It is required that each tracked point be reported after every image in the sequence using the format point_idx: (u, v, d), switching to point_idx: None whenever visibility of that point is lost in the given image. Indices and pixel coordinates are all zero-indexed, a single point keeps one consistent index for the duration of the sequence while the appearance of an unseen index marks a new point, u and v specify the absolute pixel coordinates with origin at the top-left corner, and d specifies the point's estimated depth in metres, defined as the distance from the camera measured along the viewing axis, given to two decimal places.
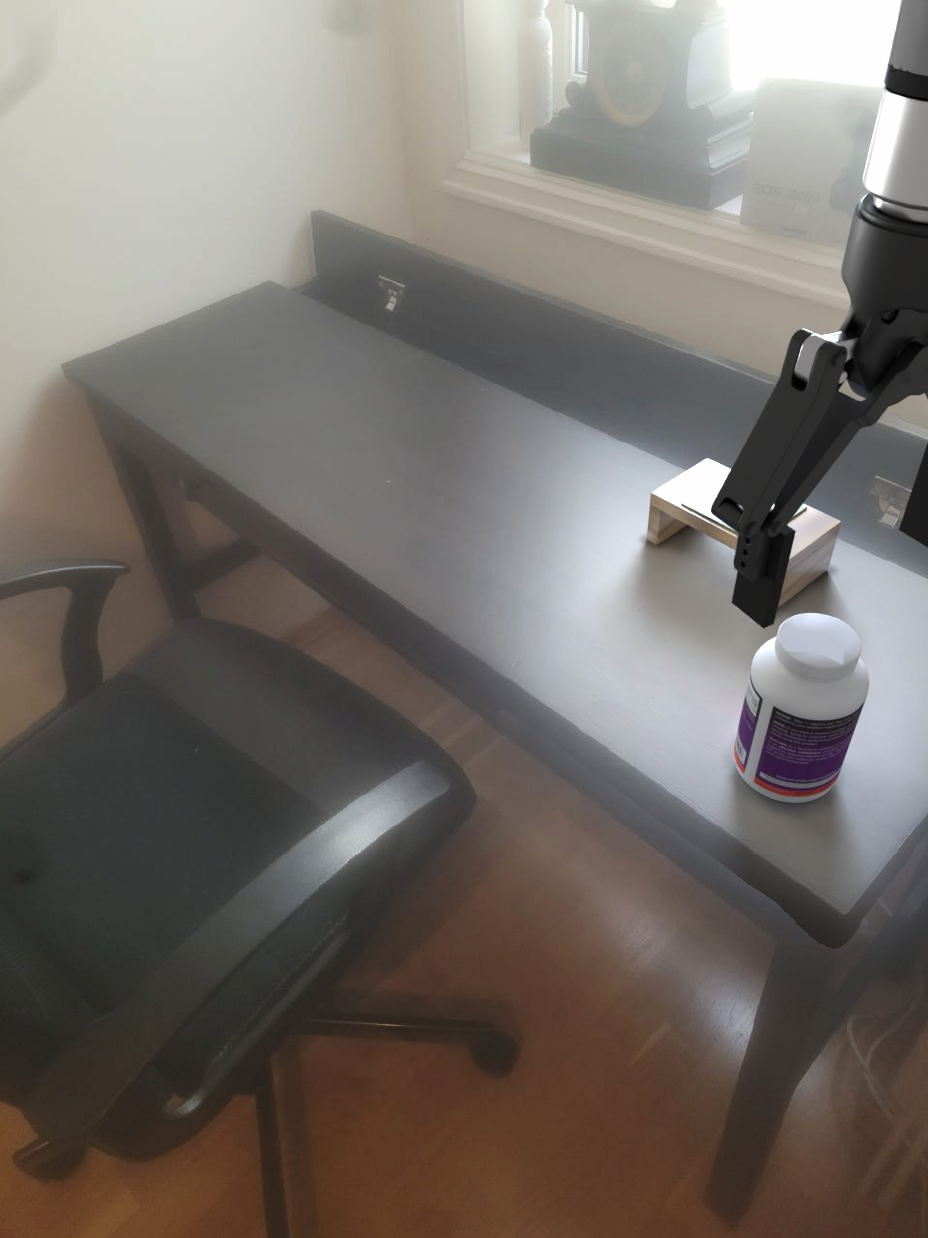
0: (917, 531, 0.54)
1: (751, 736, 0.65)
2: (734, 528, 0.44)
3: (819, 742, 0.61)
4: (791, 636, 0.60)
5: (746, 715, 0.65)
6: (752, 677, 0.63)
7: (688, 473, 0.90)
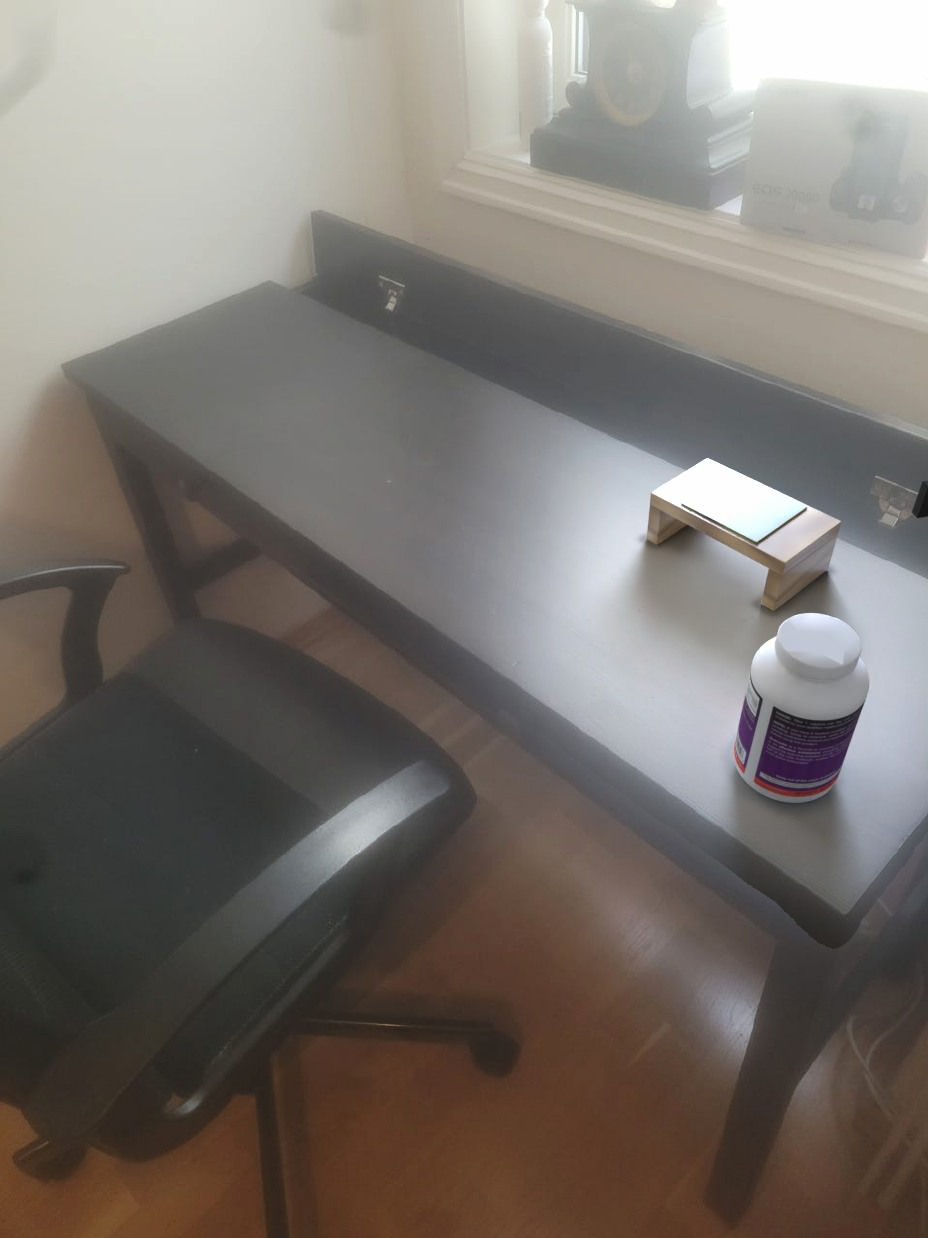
0: None
1: (751, 736, 0.65)
2: None
3: (819, 742, 0.61)
4: (791, 636, 0.60)
5: (746, 715, 0.65)
6: (752, 677, 0.63)
7: (688, 473, 0.90)
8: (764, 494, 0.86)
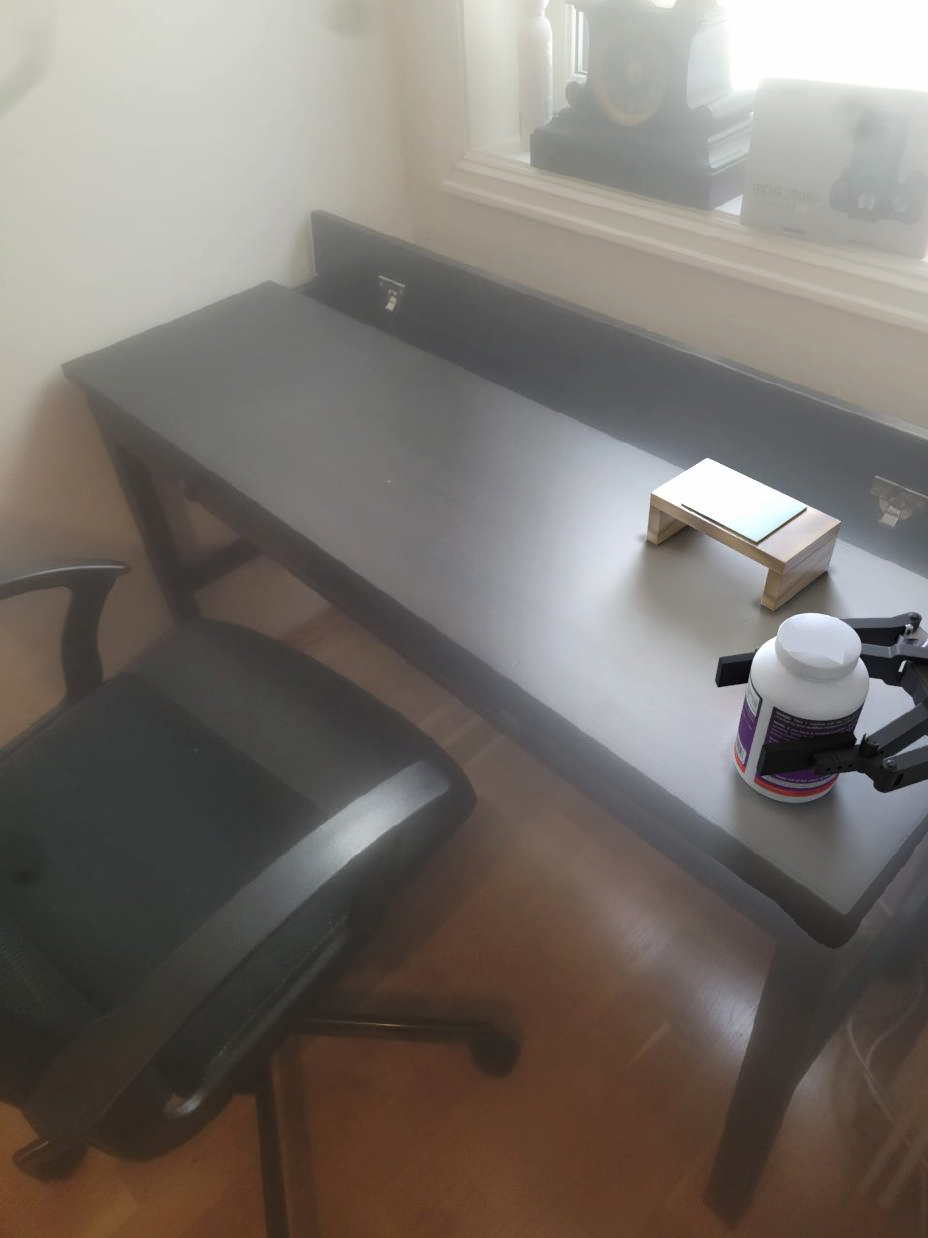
0: None
1: (751, 736, 0.65)
2: None
3: None
4: (791, 636, 0.60)
5: (746, 715, 0.65)
6: (752, 677, 0.63)
7: (688, 473, 0.90)
8: (764, 494, 0.86)
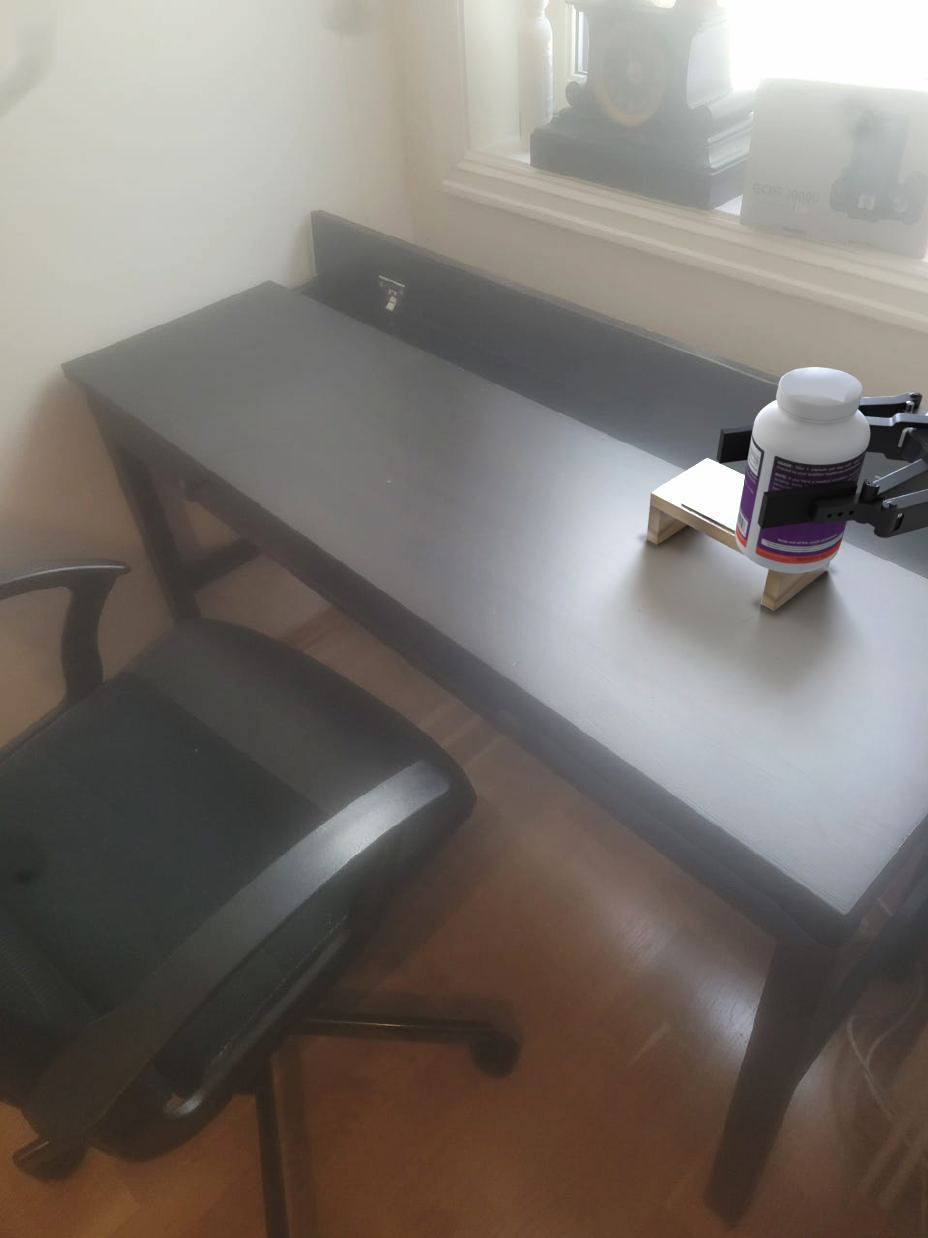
0: None
1: (752, 500, 0.65)
2: None
3: None
4: (792, 384, 0.61)
5: (748, 479, 0.65)
6: (754, 434, 0.63)
7: (688, 473, 0.90)
8: None
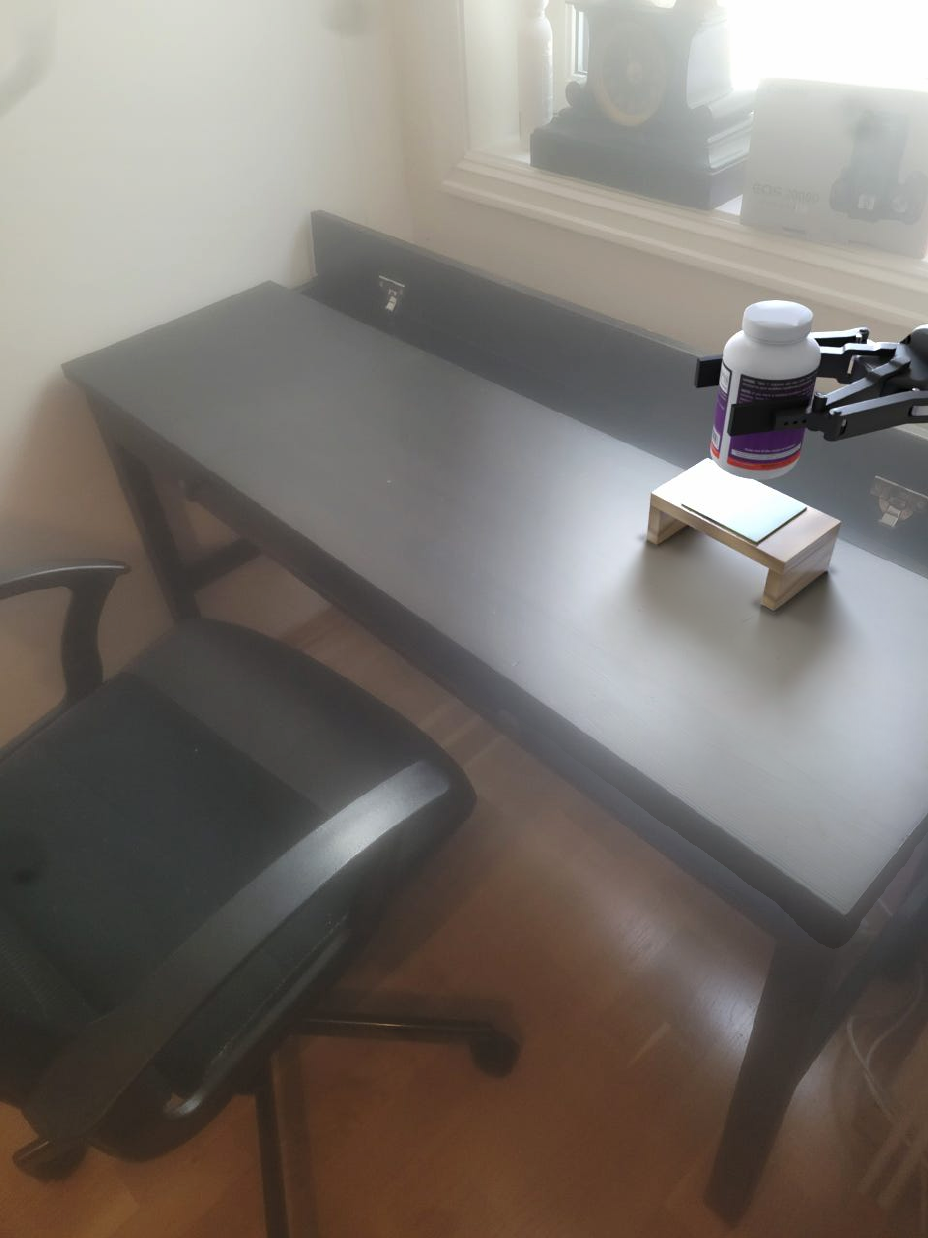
0: None
1: (723, 415, 0.77)
2: None
3: None
4: (755, 313, 0.72)
5: (719, 398, 0.77)
6: (724, 357, 0.75)
7: (688, 473, 0.90)
8: (764, 494, 0.86)
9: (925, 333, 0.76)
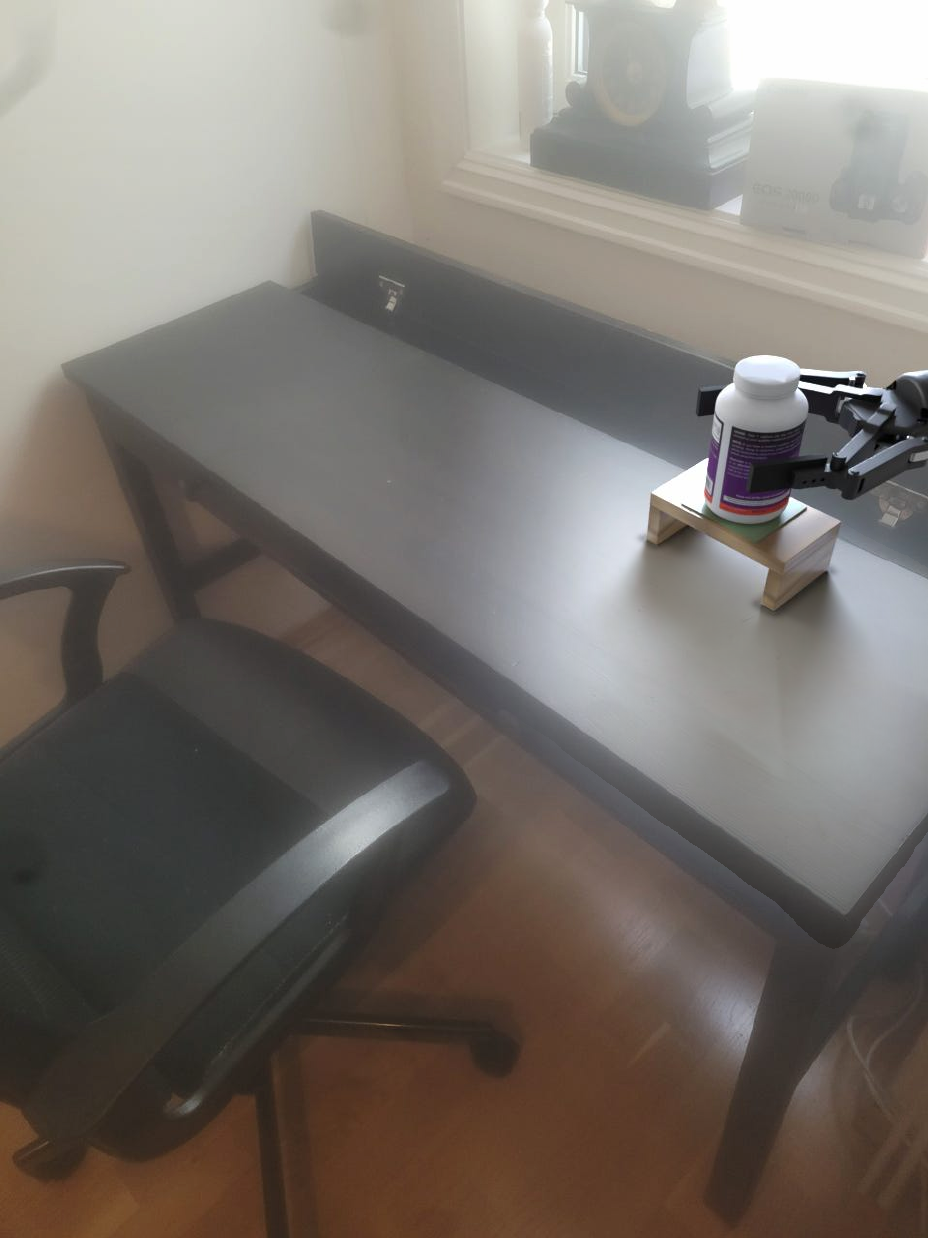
0: None
1: (716, 463, 0.80)
2: None
3: (768, 456, 0.77)
4: (745, 368, 0.76)
5: (712, 447, 0.81)
6: (716, 409, 0.78)
7: (688, 473, 0.90)
8: None
9: (910, 381, 0.79)
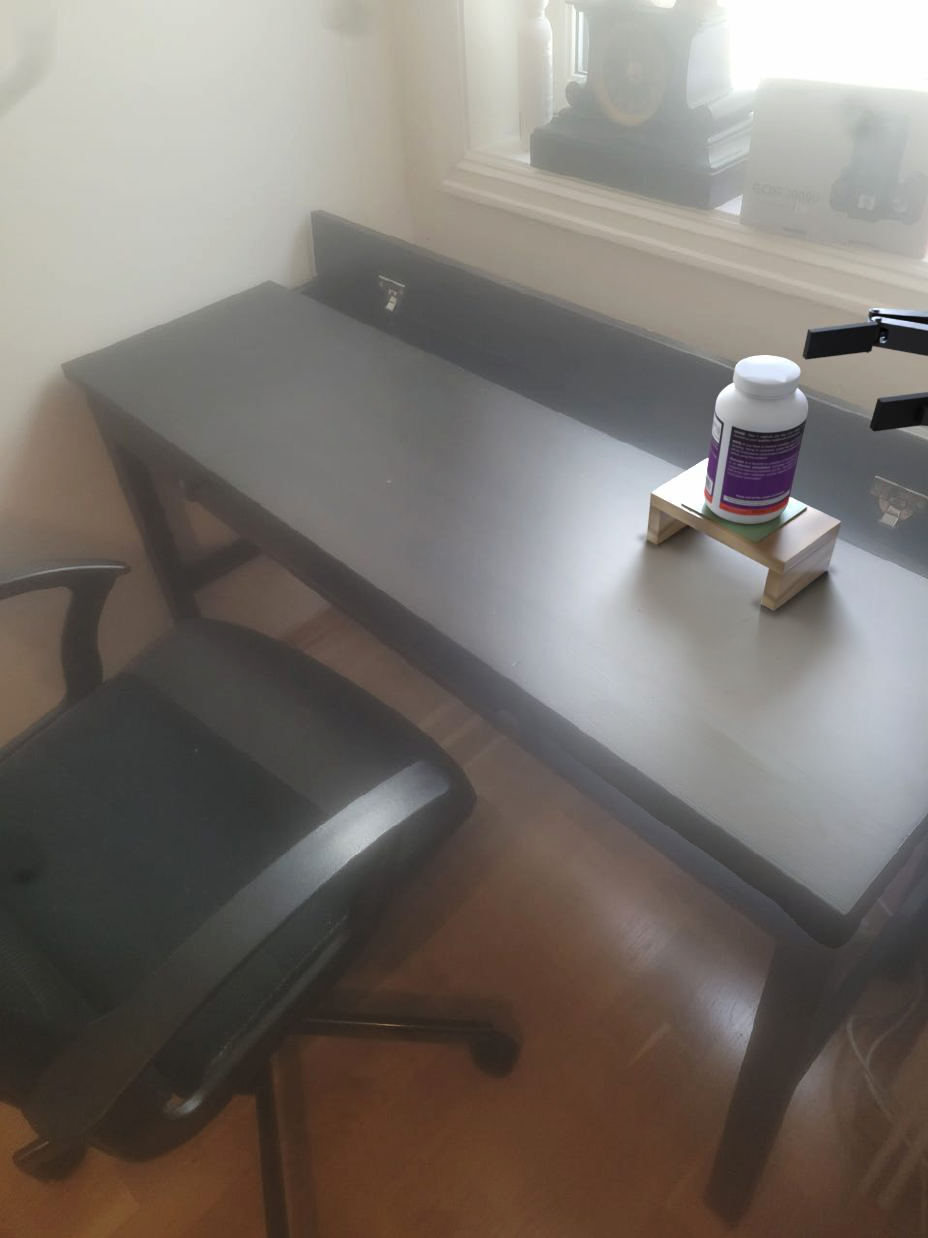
0: None
1: (716, 463, 0.80)
2: None
3: (768, 456, 0.77)
4: (745, 368, 0.76)
5: (712, 447, 0.81)
6: (716, 409, 0.78)
7: (688, 473, 0.90)
8: None
9: None
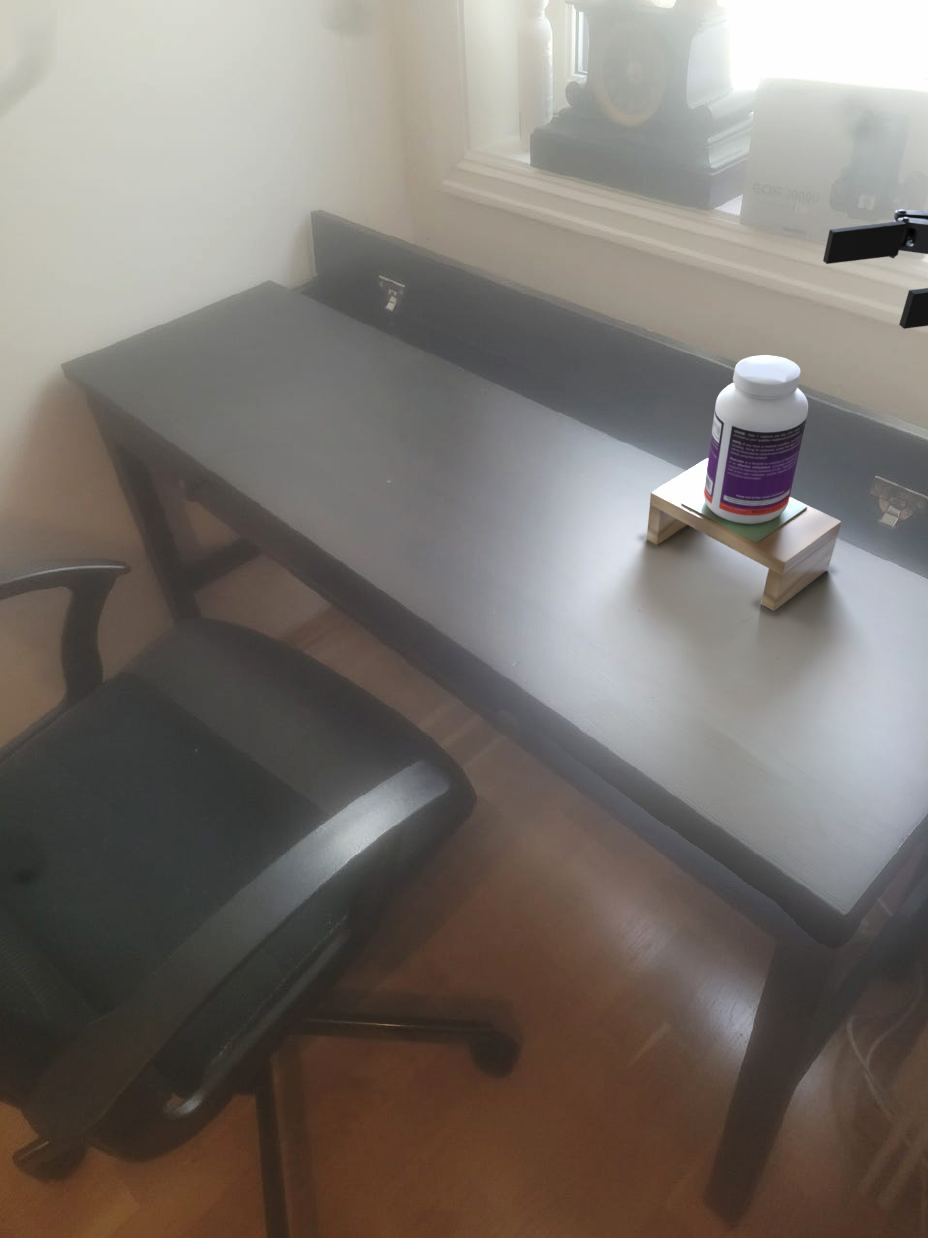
0: None
1: (716, 463, 0.80)
2: None
3: (768, 456, 0.77)
4: (745, 368, 0.76)
5: (712, 447, 0.81)
6: (716, 409, 0.78)
7: (688, 473, 0.90)
8: None
9: None
